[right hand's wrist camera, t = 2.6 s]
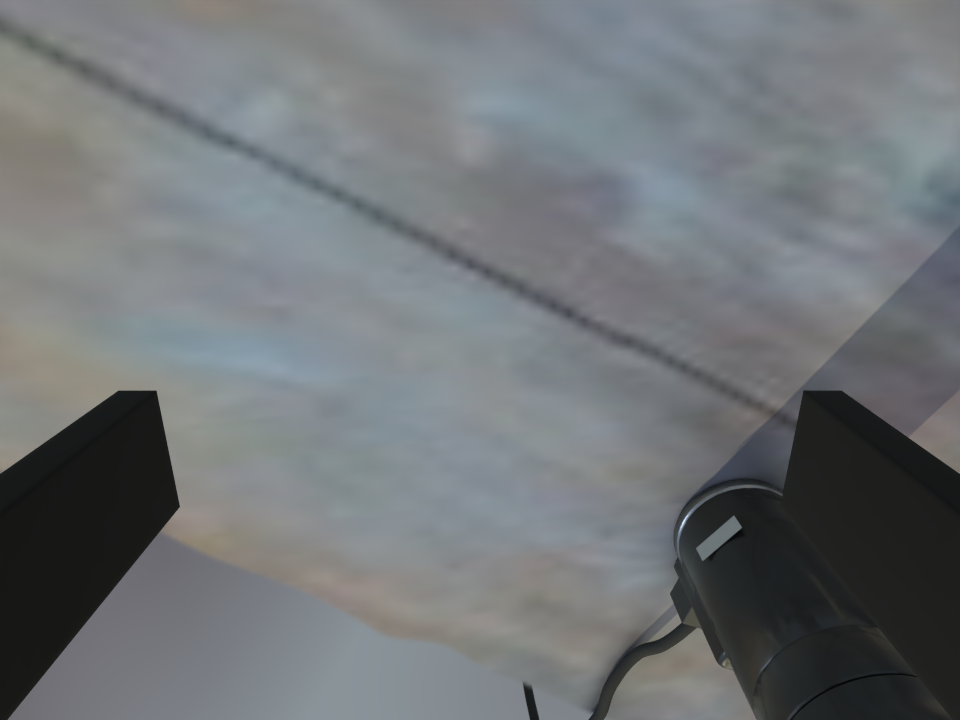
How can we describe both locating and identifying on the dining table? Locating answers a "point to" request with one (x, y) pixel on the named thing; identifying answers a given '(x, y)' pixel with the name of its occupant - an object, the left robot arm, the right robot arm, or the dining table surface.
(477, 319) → the dining table surface
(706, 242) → the dining table surface
